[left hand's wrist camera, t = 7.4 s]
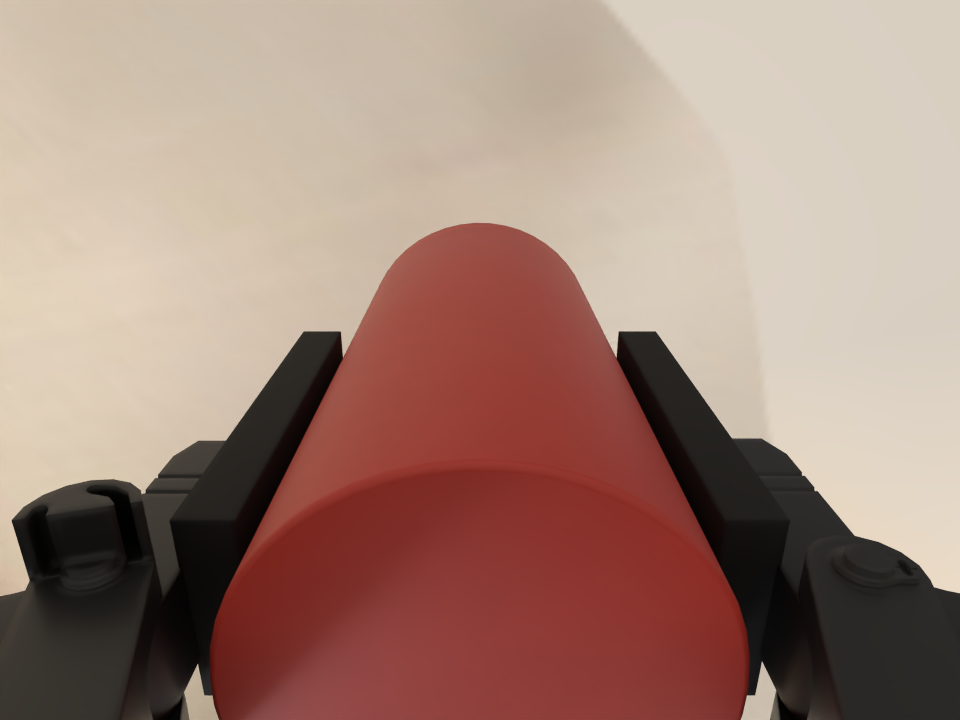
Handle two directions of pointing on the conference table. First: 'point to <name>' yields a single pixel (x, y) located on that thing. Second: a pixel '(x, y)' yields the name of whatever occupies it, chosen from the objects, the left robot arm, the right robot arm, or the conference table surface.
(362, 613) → the cylinder
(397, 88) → the conference table surface
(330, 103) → the conference table surface
